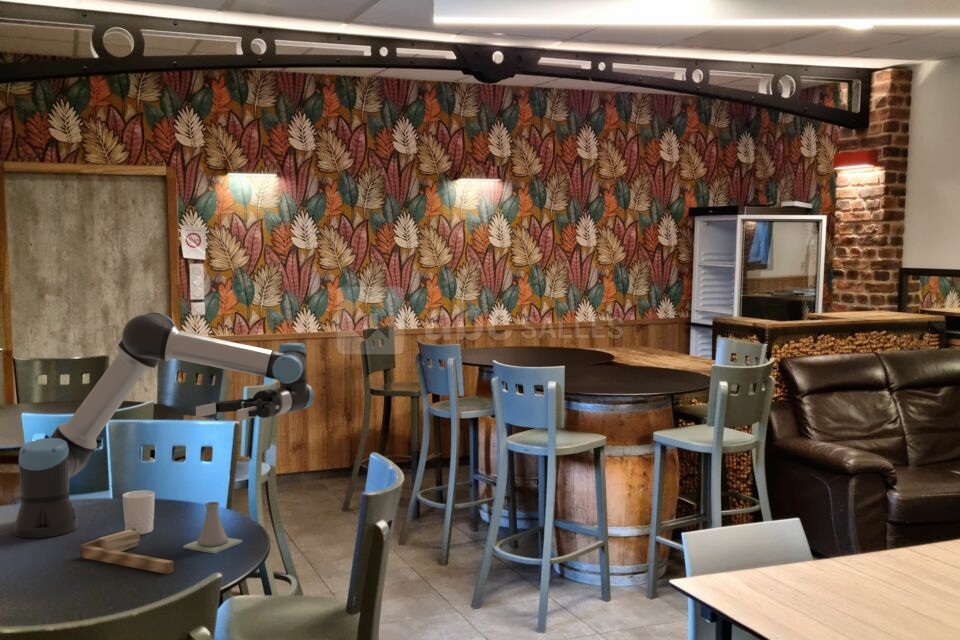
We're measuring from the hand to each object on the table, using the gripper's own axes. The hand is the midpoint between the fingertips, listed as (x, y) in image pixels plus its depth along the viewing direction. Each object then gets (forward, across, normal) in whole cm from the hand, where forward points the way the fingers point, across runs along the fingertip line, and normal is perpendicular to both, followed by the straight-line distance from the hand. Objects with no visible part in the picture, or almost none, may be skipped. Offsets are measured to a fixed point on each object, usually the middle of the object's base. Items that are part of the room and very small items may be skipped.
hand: (217, 413), depth 232 cm
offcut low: (+18, +16, -32) cm, 41 cm away
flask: (+6, -3, -32) cm, 32 cm away
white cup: (+5, +23, -32) cm, 40 cm away
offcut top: (+18, +15, -30) cm, 39 cm away
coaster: (+6, -3, -32) cm, 33 cm away
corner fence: (+19, +5, -32) cm, 37 cm away
